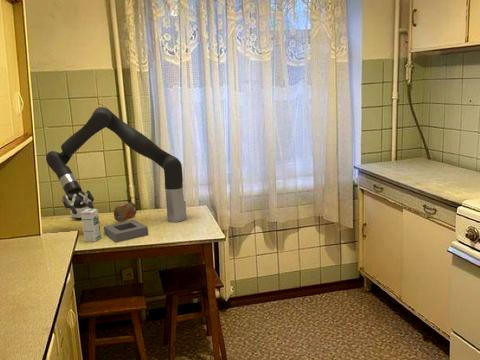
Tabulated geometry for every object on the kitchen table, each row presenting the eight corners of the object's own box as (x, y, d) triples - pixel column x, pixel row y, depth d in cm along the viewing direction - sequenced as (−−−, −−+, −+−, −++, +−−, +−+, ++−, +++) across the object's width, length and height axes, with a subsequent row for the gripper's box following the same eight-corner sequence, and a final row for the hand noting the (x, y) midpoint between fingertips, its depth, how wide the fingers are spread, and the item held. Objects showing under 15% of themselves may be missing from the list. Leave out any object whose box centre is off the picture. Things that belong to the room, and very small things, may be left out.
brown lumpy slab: (117, 223, 263) (116, 208, 261) (113, 223, 264) (111, 207, 263) (137, 215, 275) (136, 201, 273) (133, 215, 277) (132, 200, 275)
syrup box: (95, 241, 236) (92, 211, 233) (84, 241, 237) (80, 211, 234) (101, 237, 241) (98, 208, 238) (90, 237, 243) (86, 208, 239)
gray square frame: (135, 227, 255) (134, 219, 254) (148, 234, 242) (147, 226, 241) (104, 234, 246) (103, 226, 245) (116, 242, 233) (115, 234, 232)
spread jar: (85, 221, 270) (82, 200, 268) (65, 221, 272) (62, 200, 270) (94, 214, 282) (92, 194, 279) (75, 214, 284) (73, 194, 281)
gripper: (58, 183, 238) (72, 210, 232) (85, 177, 247) (100, 204, 242) (54, 192, 243) (68, 219, 237) (81, 186, 252) (95, 212, 247)
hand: (84, 211), depth 240 cm, fingers open, 8 cm apart
